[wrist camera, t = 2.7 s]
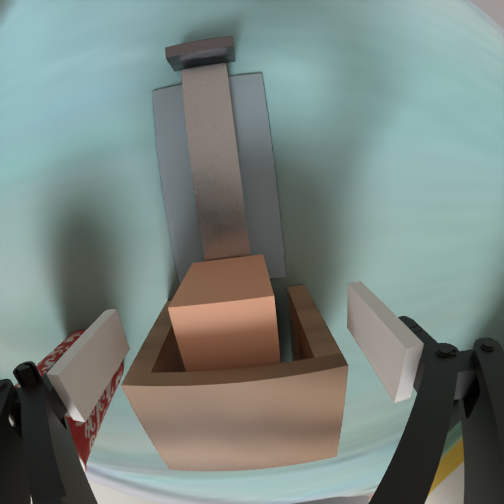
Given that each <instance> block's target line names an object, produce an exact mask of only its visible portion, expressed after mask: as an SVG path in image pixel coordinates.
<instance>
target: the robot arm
mask: <svg viewBox="0 0 504 504" xmlns="http://www.w3.org/2000/svg"><path fill="white" fill-rule="evenodd" d="M347 328H348V329H349V331H350V332H351V334H352V336H353V337H354V339H355V340H356V342H357V343H358V345H359V346H360V348H361V350H362V351H363V353H364V354H365V356H366V358H367V359H368V361H369V362H370V364H371V366H372V367H373V369H374V370H375V372H376V374H377V375H378V377H379V379H380V380H381V382H382V383H383V385H384V387H385V388H386V390H387V392H388V393H389V395H390V397H391V398H392V400H393V402H394V403H396V402H399V401H402V400H405V399H408V398H410V397H411V393H412V390H413V387H414V389H415V390H416V392H417V396H416V399H415V402H414V405H413V408H412V411H411V414H410V417H409V419H408V422H407V425H406V427H405V430H404V432H403V435H402V437H401V440H400V442H399V444H398V447H397V449H396V451H395V454H394V456H393V458H392V460H391V462H390V464H389V466H388V468H387V470H386V472H385V474H384V476H383V478H382V480H381V482H380V484H379V486H378V488H377V490H376V491H375V493H374V495H373V497H372V498H371V500H370V502H369V504H425V502H426V499H427V497H428V494H429V491H430V489H431V486H432V483H433V481H434V478H435V475H436V472H437V469H438V466H439V462H440V459H441V456H442V452H443V449H444V445H445V441H446V437H447V433H448V428H449V424H450V419H451V414H452V409H453V403H454V400H456V399H458V402H459V409H460V417H461V425H462V436H463V450H464V502H463V504H504V352H503V350H502V348H501V346H500V344H499V343H498V342H497V341H495V340H494V339H492V338H480V339H478V340H476V341H475V343H474V346H473V350H467V351H459V350H458V349H457V348H456V347H455V346H453V345H451V344H447V343H437V342H436V341H435V340H434V339H433V338H432V337H431V336H430V335H429V334H428V333H427V332H426V331H425V330H423V329H422V328H421V327H420V326H419V325H418V324H417V323H416V322H415V321H414V320H413V319H410V318H408V317H406V316H401V317H397V316H396V315H395V314H394V313H393V312H392V311H391V310H390V309H389V308H388V307H387V306H386V305H385V304H384V303H383V302H382V301H381V300H380V299H378V298H377V297H376V296H375V295H374V294H373V293H372V292H371V291H370V290H369V289H368V288H367V287H366V286H365V285H364V284H363V283H362V282H361V281H360V282H354V283H348V315H347ZM129 350H130V347H129V345H128V342H127V339H126V336H125V333H124V330H123V327H122V324H121V321H120V318H119V315H118V312H117V309H109V310H105V311H104V312H103V313H102V314H101V315H100V316H99V317H98V318H97V319H96V321H95V322H94V323H93V324H92V325H91V326H90V327H89V328H88V329H87V330H86V331H85V332H84V333H83V334H82V335H81V336H80V337H79V338H78V339H77V340H76V341H75V342H74V344H73V345H72V346H71V347H70V348H69V349H68V350H67V351H66V352H64V353H63V354H62V355H61V356H60V357H59V358H58V360H56V362H55V363H54V365H52V366H51V367H50V368H49V369H48V370H47V372H46V373H45V374H44V375H43V376H42V377H41V375H40V373H39V371H38V369H37V367H36V365H35V363H34V362H30V361H28V362H24V363H22V364H20V365H18V366H17V367H16V368H15V369H14V371H13V374H14V376H15V378H16V379H17V381H18V383H19V385H20V386H21V387H16V388H15V387H14V385H13V383H12V382H11V380H9V379H3V380H0V504H31V498H30V497H32V502H33V504H98V503H97V501H96V499H95V497H94V494H93V492H92V490H91V487H90V485H89V483H88V480H87V478H86V475H85V473H84V470H83V467H82V465H81V462H80V459H79V456H78V453H77V450H76V447H75V444H74V441H73V437H72V434H71V431H70V427H69V423H68V421H67V419H66V417H65V414H66V413H67V411H68V412H69V414H70V416H71V417H72V419H73V420H76V421H80V422H85V423H86V421H87V419H88V417H89V416H90V414H91V412H92V410H93V409H94V407H95V405H96V404H97V402H98V400H99V399H100V397H101V395H102V393H103V392H104V390H105V388H106V387H107V385H108V383H109V382H110V380H111V379H112V377H113V375H114V374H115V372H116V370H117V369H118V367H119V366H120V364H121V362H122V361H123V359H124V358H125V356H126V354H127V353H128V351H129ZM9 417H10V418H11V420H12V421H13V426H12V425H11V423H10V421H9Z"/></svg>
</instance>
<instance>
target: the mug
mask: <svg viewBox="0 0 504 504" xmlns="http://www.w3.org/2000/svg"><path fill="white" fill-rule="evenodd" d="M85 331H86V330H78V331H76V332H74V333H72V334H71V335H70V336H69V337H67V338H66V339H65V340H64V341H63V342H62V343H61V344H60V345H59V346H58V347H57V348H55V349H54V350H53V351H52V352H51V353H50V354H49V355H47V356H46V357H45V358H44V359H43V360H42V361H41V362H40V363H39V364H38V365H37V366H36V367H37V369H38V371H39V373H40V375H41V377H42V376H43V375H44V374H45V373H46V372H47V370H48V369H49V368H50V367H51V366H52V365H54V363H55V362H56V360H58V358H59V357H60V356H61V355H62V354H63V353H64V352H66V351H67V350H68V349H69V348H70V347H71V346H72V345H73V344H74V342H75V341H76V340H77V339H78V338H79V337H80V336H81V335H82V334H83V333H84V332H85ZM122 375H123V363H122V362H121V364H120V366H119V367H118V369H117V370H116V372H115V374H114V375H113V377H112V379H111V380H110V382H109V383H108V385H107V387H106V388H105V390H104V392H103V393H102V395H101V397H100V399H99V400H98V402H97V404H96V405H95V407H94V409H93V410H92V412H91V414H90V416H89V417H88V419H87V421H86V423H85V422H80V421H76V420H73V419H72V417H71V416H70V414H69V412H68V411H67V413H66V414H65V417H66V419H67V421H68V423H69V427H70V431H71V434H72V437H73V441H74V444H75V447H76V450H77V453H78V456H79V459H80V462H81V465H82V467H83V470H84V473H85V472H86V463H87V460H88V457H89V454H90V451H91V449H92V446H93V444H94V441H95V439H96V436H97V434H98V431H99V428H100V426H101V423H102V421H103V418H104V416H105V414H106V411H107V409H108V407H109V404H110V402H111V400H112V397H113V395H114V393H115V390H116V388H117V386H118V384H119V382H120V380H121V377H122ZM14 387H15V388H16V387H21V386H20V385H19V383H17V384H16V385H15V386H14ZM9 421H10V423H11V425H12V426H13V421H12V420H11V418H10V417H9Z"/></svg>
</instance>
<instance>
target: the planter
mask: <svg viewBox="0 0 504 504" xmlns="http://www.w3.org/2000/svg"><path fill="white" fill-rule="evenodd" d="M463 502H464V450H463V436H462V425H461V417H460V409H459V402H457V403H456V404H455V405H454V406H453V409H452V414H451V419H450V424H449V428H448V433H447V437H446V441H445V445H444V449H443V452H442V456H441V459H440V462H439V466H438V469H437V472H436V475H435V478H434V481H433V483H432V486H431V489H430V491H429V494H428V497H427V499H426V502H425V504H463Z"/></svg>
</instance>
